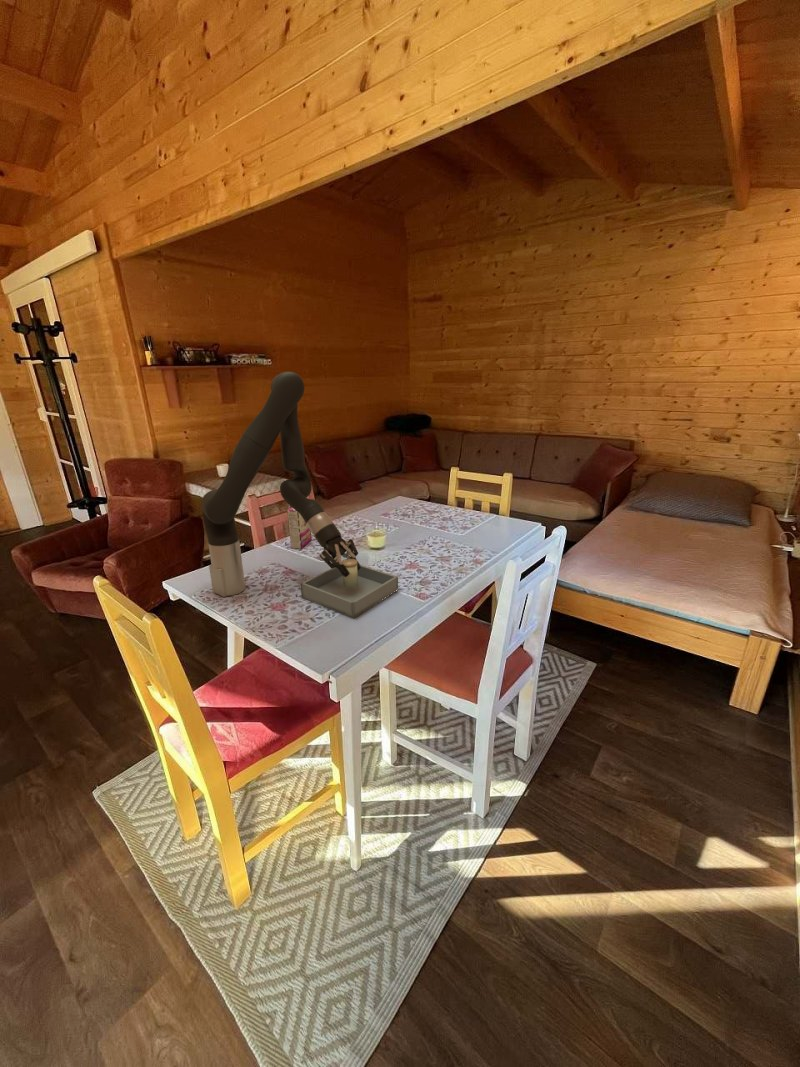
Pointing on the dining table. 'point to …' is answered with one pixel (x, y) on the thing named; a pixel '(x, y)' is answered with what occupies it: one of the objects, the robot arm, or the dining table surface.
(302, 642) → the dining table surface
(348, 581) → the lidded yellow jar
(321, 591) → the bin
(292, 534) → the candy bar box
